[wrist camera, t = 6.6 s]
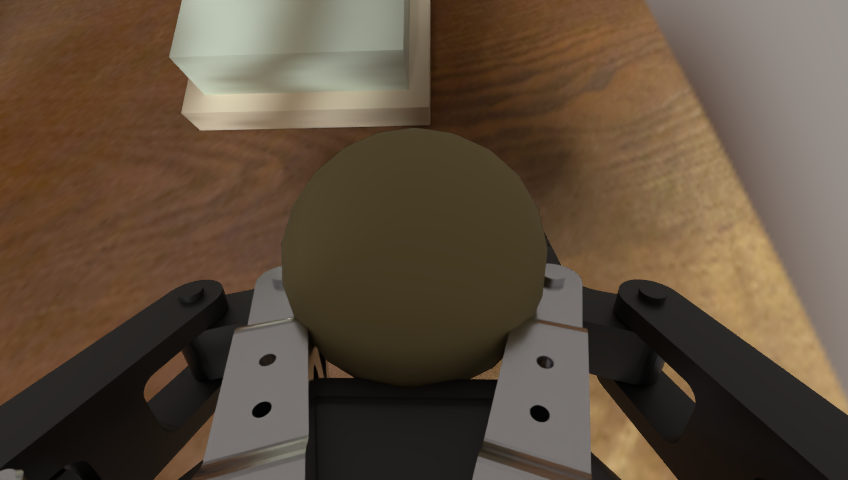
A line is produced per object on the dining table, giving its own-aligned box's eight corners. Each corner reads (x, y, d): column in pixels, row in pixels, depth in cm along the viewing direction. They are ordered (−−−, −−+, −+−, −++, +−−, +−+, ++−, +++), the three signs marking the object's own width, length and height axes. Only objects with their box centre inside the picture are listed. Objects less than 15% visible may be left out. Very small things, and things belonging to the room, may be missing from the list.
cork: (474, 399, 16) (541, 512, 5) (340, 346, 16) (153, 347, 6) (515, 263, 17) (636, 125, 6) (391, 221, 18) (315, 39, 7)
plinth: (200, 130, 20) (141, 77, 16) (233, -44, 23) (191, -123, 19) (430, 125, 19) (427, 69, 15) (430, -53, 22) (428, -136, 18)
